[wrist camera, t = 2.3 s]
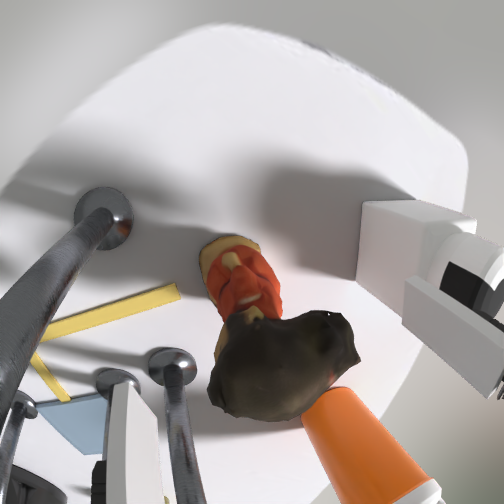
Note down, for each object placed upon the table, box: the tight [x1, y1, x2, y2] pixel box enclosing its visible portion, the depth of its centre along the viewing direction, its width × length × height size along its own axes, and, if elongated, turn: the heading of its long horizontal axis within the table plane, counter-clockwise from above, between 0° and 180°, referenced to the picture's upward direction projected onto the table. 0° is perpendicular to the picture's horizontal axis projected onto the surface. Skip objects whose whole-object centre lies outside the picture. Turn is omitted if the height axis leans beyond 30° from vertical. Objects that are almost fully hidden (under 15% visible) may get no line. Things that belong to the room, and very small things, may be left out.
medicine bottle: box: [355, 200, 504, 318], centre depth 18 cm, size 7×7×12 cm
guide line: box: [30, 283, 181, 403], centre depth 20 cm, size 16×8×1 cm, turn 104°
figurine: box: [199, 236, 361, 422], centre depth 15 cm, size 6×6×12 cm
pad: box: [36, 394, 108, 455], centre depth 22 cm, size 9×9×1 cm
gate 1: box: [0, 187, 207, 504], centre depth 12 cm, size 4×17×16 cm, turn 14°
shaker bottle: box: [301, 387, 446, 504], centre depth 21 cm, size 9×9×20 cm
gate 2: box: [0, 369, 141, 504], centre depth 13 cm, size 17×4×16 cm, turn 104°
